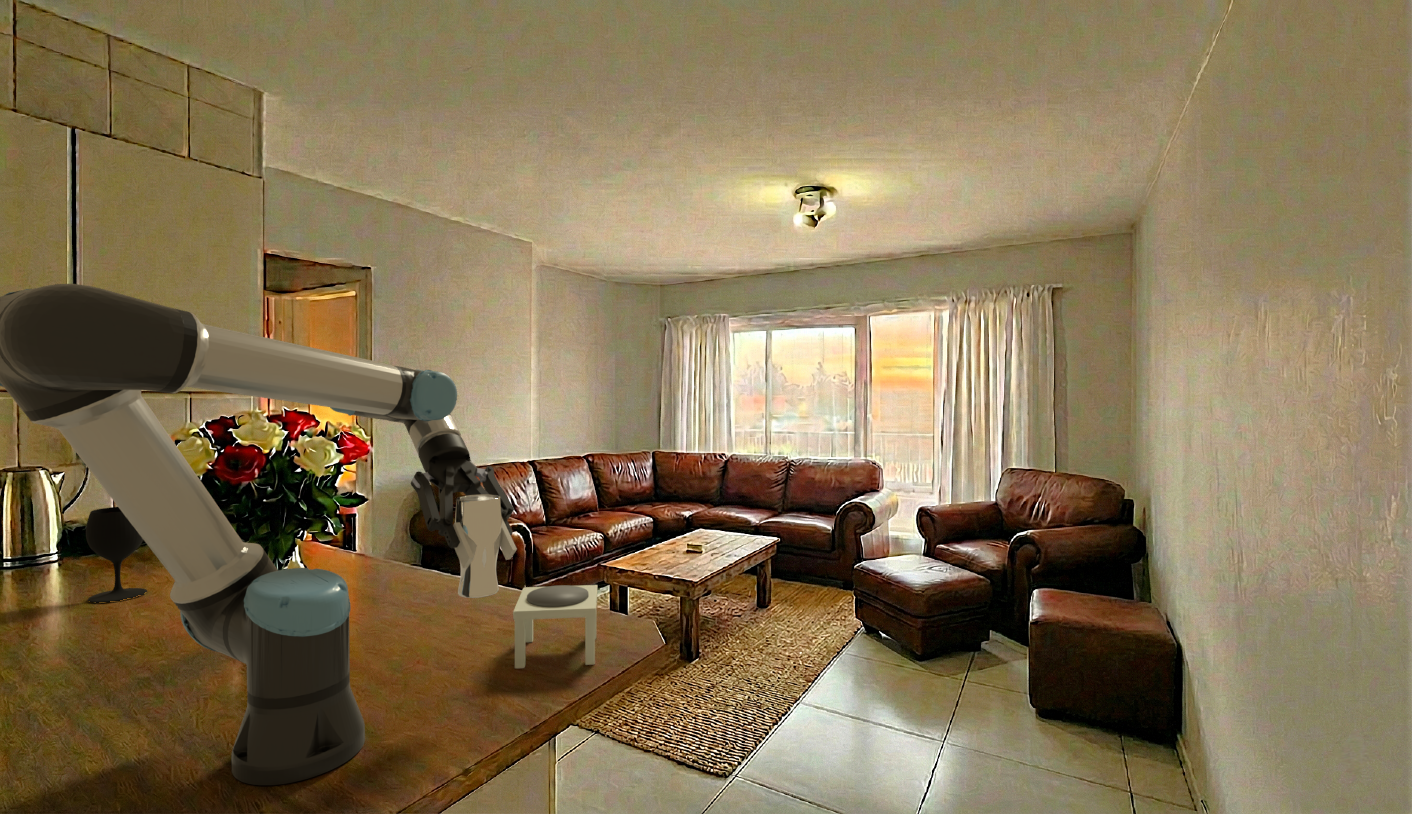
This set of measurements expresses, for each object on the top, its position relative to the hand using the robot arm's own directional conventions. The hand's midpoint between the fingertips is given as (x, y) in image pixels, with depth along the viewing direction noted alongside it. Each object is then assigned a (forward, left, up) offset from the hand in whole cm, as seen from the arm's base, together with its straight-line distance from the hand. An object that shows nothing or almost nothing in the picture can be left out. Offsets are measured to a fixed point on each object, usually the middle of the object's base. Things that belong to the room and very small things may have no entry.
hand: (490, 558), depth 105 cm
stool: (+9, +19, -22) cm, 30 cm away
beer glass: (-2, +3, -6) cm, 7 cm away
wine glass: (-93, +64, -22) cm, 115 cm away
